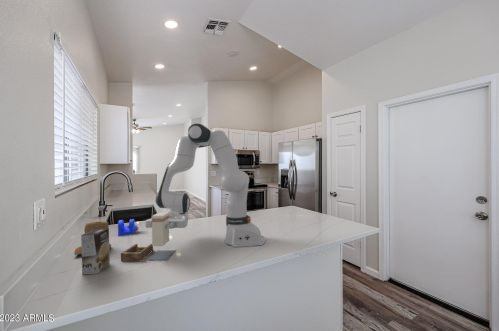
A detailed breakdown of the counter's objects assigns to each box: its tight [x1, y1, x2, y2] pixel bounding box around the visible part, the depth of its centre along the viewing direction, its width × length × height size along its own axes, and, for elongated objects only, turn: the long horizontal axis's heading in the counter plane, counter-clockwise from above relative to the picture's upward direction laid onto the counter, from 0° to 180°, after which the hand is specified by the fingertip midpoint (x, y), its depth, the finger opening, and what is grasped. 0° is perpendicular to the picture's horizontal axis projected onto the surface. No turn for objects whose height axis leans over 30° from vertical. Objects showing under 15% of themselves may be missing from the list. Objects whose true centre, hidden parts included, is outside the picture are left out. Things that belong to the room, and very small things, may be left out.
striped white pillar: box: [151, 212, 170, 247], centre depth 108 cm, size 5×7×14 cm
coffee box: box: [80, 228, 111, 276], centre depth 96 cm, size 9×6×16 cm
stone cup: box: [73, 220, 112, 256], centre depth 117 cm, size 15×12×15 cm
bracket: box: [117, 218, 138, 237], centre depth 151 cm, size 18×8×9 cm, turn 17°
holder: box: [120, 243, 154, 262], centre depth 109 cm, size 9×12×4 cm
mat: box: [146, 249, 176, 262], centre depth 109 cm, size 9×11×1 cm
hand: (159, 227), depth 108 cm, fingers closed on striped white pillar, 5 cm apart
